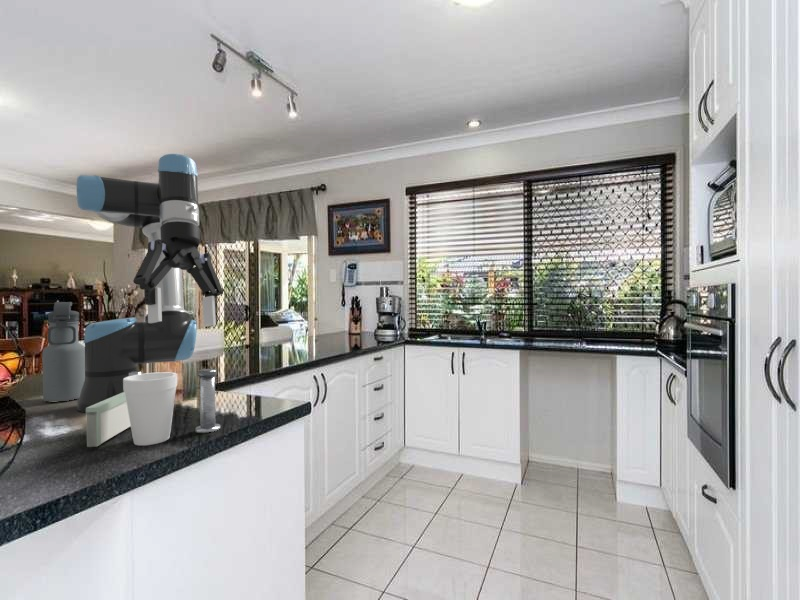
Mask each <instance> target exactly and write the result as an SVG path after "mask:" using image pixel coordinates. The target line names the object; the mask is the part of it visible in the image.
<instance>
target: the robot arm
mask: <svg viewBox="0 0 800 600" xmlns="http://www.w3.org/2000/svg"><path fill="white" fill-rule="evenodd" d="M157 172H158V181H157V182H158V183H156V182H145V181H138V180H129V179H121V178H113V177H104V176H100V175H86V174H85V175H84V174H81V175H79V176H77V179H76V200H77V206H78V208H79V209H80V210H83V211H89V212H90V211H91V212H94V213H95V214H96V215H97V216H98V217H99V218H101V219H103V220H104V221H107V222H110V223H114V224H116V225H121V226H125V227H131V228H141V229H142V234H143V235H144V236H146V237H147V239H148V240H147V241H148V244H147V252H146V254H145V256H144V257H143V260H142V262H141V264H140V266H139V267H138V270H137V271H136V273H135V276H134V279H132V281H133V284H134V285H139V286H138V287H139V288H140V289H141V291H143V290H144V291H143V293H144V294H143V295H144V297H143V298H144V305H146V306H147V314H146V315H145V316H144V321H142V322H141V321H140V322H139V321H138V320H137V318H136V317H134V316H133V317H123V318H116V319H109V320H103V321H96V322H93V323H90V324H88V325H87V326H86V327H85V328H84V340H83V344H84V347H85V381H84V384H83V387H82V390H81V394H80V398H79V399H77V400H76V405H77V406H76V409H77V411H79V412H82V413H86V408H87V407H89V406H92V405H94V404H96V403H99V402H101V401H104V400H106V399H108V398H111V397H113V396H115V395H118V394H120V393H122V392H124V391H123V379H124V378H126V377H128V376H129V372H134V371H138V365H140V364H141V365H143V364H156V363H167V362H173V363H175V362H179V361H187V360H189V359H191V358H192V357H193V354H194V351H195V347H196V341H197V320H194V319H191V313H190V312H188V311H187V310H186V309H185V302H184V301H185V300H184V299H185V298H184V285H183V281H184V280H183V271H186V273H188V274H190V275H191V277H192V278H193V280H194V281H195V283H196V284H197V286H198V287H199V289H200V290H201V292H202V293H203V295H204V296H205V297H202V317H203V319H202V320H203V327H207V328H208V327H212V326H216V325H217V319H216V311H217V310H218V309H217V297H219V296H221V295H223V294H224V290H223V288H222V284H221V283H220V281H219V278H218V275H217V273H216V271H215V268H214V265H213V263H212V258H211V254H210V252H205V253H200V251H199V246H200V244H201V228H200V227H199V226H200V208H199V188H198V186H199V185H198V184H199V183H198V177H199V174H198V170H197V164H196V162H195V160H194V159H193V158H191V157H189V156H187V155H185V154H184V155H183V154H179V153H168V154H164V155H162V156H161V157H160V158H159V159H158V168H157Z"/></svg>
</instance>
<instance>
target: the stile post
mask: <svg viewBox="0 0 800 600" xmlns="http://www.w3.org/2000/svg"><path fill="white" fill-rule="evenodd" d="M217 370H218V369H216V368H203V369H199V370H197V377H199V412H200V413H199V414H200V417H199V418H200V421H199V422H200V425H198V426H196V427H195V428H194V429H195V430H194V431H195V433H196V434H210V433H209V432H211V433H215V432H217V430H218V431H220V430H221V427H222V426H221V424H220V423H216V422H217V421H216V376H217V373H218V371H217ZM219 429H220V430H219ZM214 431H215V432H214Z"/></svg>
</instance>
